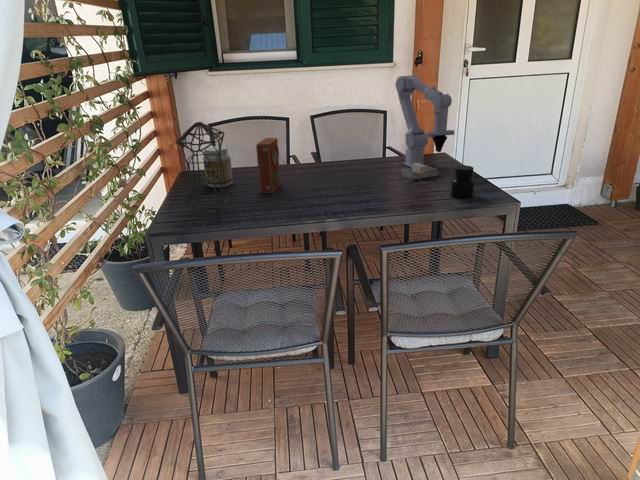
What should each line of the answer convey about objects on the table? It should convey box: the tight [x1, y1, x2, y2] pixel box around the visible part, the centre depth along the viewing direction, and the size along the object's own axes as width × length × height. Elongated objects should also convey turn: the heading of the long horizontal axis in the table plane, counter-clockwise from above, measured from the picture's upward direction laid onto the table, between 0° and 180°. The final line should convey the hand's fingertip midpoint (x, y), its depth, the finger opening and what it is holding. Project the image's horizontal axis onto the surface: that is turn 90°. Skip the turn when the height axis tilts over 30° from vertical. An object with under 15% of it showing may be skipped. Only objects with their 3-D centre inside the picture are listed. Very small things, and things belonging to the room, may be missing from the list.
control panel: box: [255, 137, 281, 194], centre depth 199 cm, size 21×7×15 cm
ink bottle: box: [450, 164, 476, 200], centre depth 183 cm, size 10×9×12 cm
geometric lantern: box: [174, 121, 229, 218], centre depth 170 cm, size 16×16×35 cm
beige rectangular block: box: [411, 163, 426, 173], centre depth 212 cm, size 7×3×5 cm, turn 20°
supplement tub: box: [202, 145, 234, 189], centre depth 209 cm, size 12×12×17 cm
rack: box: [400, 164, 439, 181], centre depth 214 cm, size 10×14×3 cm
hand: (438, 151), depth 215 cm, fingers closed
